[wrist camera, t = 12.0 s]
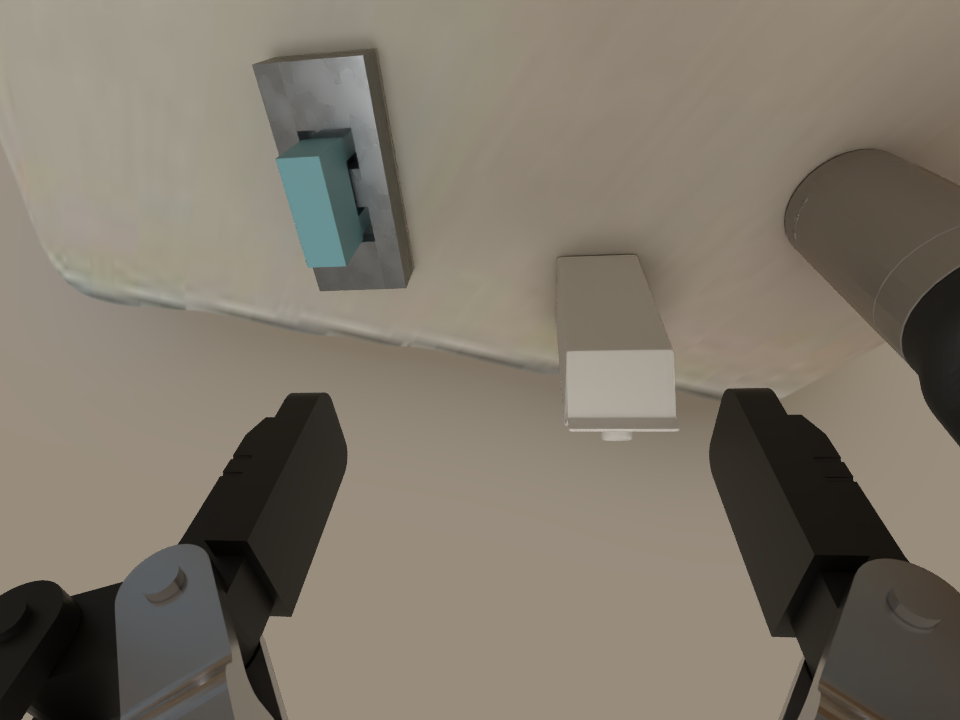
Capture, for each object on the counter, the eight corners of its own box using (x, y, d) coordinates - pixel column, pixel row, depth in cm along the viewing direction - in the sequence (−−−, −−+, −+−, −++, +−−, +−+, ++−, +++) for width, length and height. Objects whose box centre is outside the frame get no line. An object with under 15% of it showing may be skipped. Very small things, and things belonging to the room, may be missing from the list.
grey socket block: (274, 57, 39) (252, 64, 36) (376, 48, 38) (362, 55, 35) (333, 270, 50) (319, 291, 47) (414, 267, 49) (406, 288, 46)
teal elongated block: (319, 127, 42) (275, 158, 34) (355, 124, 41) (318, 156, 34) (342, 222, 46) (308, 267, 39) (374, 220, 46) (346, 266, 39)
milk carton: (557, 256, 47) (570, 388, 32) (636, 253, 47) (688, 387, 31) (555, 321, 52) (567, 466, 36) (628, 320, 51) (671, 467, 36)
